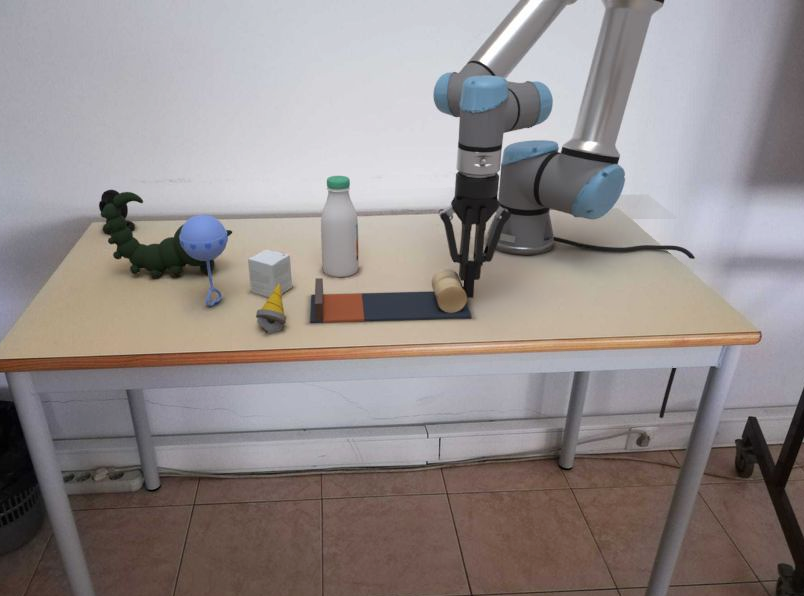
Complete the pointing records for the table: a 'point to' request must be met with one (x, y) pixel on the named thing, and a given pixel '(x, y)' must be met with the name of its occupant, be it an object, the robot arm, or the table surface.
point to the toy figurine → (142, 255)
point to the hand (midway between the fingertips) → (467, 294)
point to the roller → (449, 291)
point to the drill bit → (272, 312)
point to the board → (378, 307)
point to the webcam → (108, 199)
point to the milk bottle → (339, 230)
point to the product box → (269, 272)
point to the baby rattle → (204, 243)
